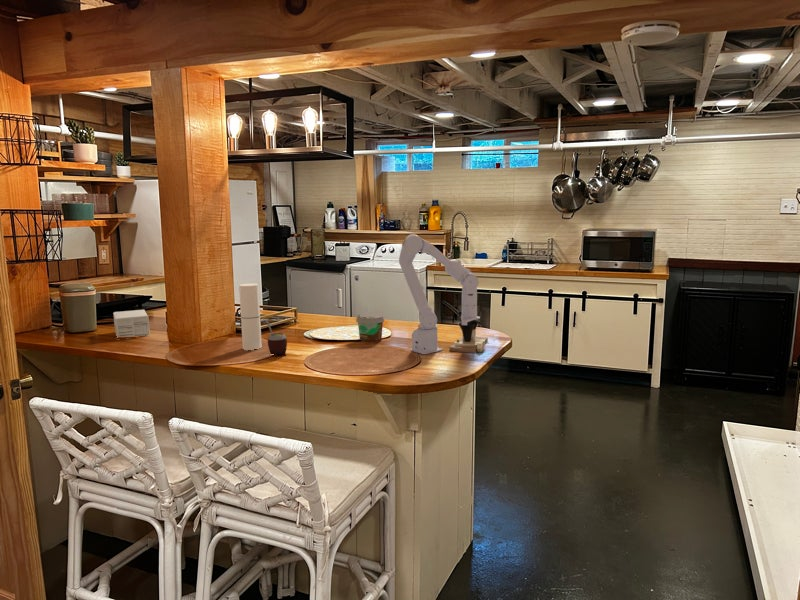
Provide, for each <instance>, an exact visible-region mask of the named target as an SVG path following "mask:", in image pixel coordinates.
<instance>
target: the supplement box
mask: <svg viewBox="0 0 800 600" xmlns="http://www.w3.org/2000/svg"><path fill="white" fill-rule="evenodd" d="M112 314H113V323H114V332H115V335H116V336H117V337H116V339H117V338H118V337H132V336H145V335H150V336H151V330H150V320H149V317H150V316H149V315H148V313H147V312H146V310H145V309H135V310H124V311H114V312H113V313H112ZM145 337H146V336H145Z"/></svg>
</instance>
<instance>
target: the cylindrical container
mask: <svg viewBox="0 0 800 600" xmlns="http://www.w3.org/2000/svg"><path fill="white" fill-rule="evenodd" d="M238 285H239V287H238V290H239V305H240V323H241V325H240V326H241V339H242V341H241V343H242V350H243V349H244V350H243V351H248V350H251V351H255V350H254V349H258V350H260V349H259V348H261V347H262V345H263V344H262V330H261V310H260V308H261V306H260V289H259V288H260V287H259V283H242V284H238ZM262 348H263V347H262ZM262 348H261V349H262Z"/></svg>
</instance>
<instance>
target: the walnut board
mask: <svg viewBox="0 0 800 600" xmlns="http://www.w3.org/2000/svg"><path fill="white" fill-rule="evenodd" d="M458 340H459V341H463V336H461V337H460V338H459V339H458ZM480 340H485V344H487V343H488V341H489V337H485V336H476V342H479V341H480ZM449 351H450V352H461V353H470V352H471V353H473V354H475V353H477V348H474V347H461V346H455V342H454V343H453V344H451V345H450V346H449Z"/></svg>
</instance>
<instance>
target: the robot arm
mask: <svg viewBox="0 0 800 600" xmlns="http://www.w3.org/2000/svg"><path fill="white" fill-rule="evenodd" d="M419 252H421V253H423V254H428V255H430V256H431V257H432V258H433V259H435V260H436V261H437V262H439V263H440V264H441V265H443V266H444V271H445V272H446V273H447V274H448V275H449V276H451V278H453V279H454V280H456V281H457V282H458V283H459V282H460V284H461V285H462V286H461V288H462V289H461V316H460V318H461V319H460V320H461V322H460V323H459V327H460V330H461V332H462V337H464V341H465V342H470V341H471V336H472V331H473V329H477V328H478V325H479V323H480V321H479V320H480V319H481V316H478V286H479V283H480V281H479V279H478V277H477V275H475V274H474V273H473V272H472V271H471V269H470V268H467V267H465V266H464V265H463V264H462V262H461V260H459V259H458V260H457V259H455V258H454V259H453V258H452V259H450V258H448V257H447V256H446V255H445V254H444V253H442V252H441V251H440V249H438V248H437V247H436V246H435V245H433V244H432V243H430V242H429V241H428V240H425V239H423V238H421V237H420V236H419V235H417V234H415V233H410V234H408V235H407V236H406V237H405V238H404V240H403V242H402V243H401V250H400V253H399V258H398V263H399V266H400V269H401V271H402V273H403V275H404V278H405V281H406V283H407V285H408V288H409V290H410V293H411V296H412V297H413V300H414V303H415V305H416V308H417V310H418V319H419V322H420V323H419V324H418V327H417V328H416V329H414V330H413V331H412V333H411V349H410V351H411V352H414V353H418V354H422V355H428V354H432V353H433V354H434V353H437V352H440V351H443V348H439V345H438V325H437V323H438V317H437V315H436V313H435V311H434V310H433V309H432V308H431V306H430V304H429V301H428V299H427V297H426V294H425V291H424V289H423V287H422V285H421V282H420V280H419V277H418V273H417V272H416V269H415V266H414V264H413V262H414V259H415V257H416V256H417V254H418V253H419Z"/></svg>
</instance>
